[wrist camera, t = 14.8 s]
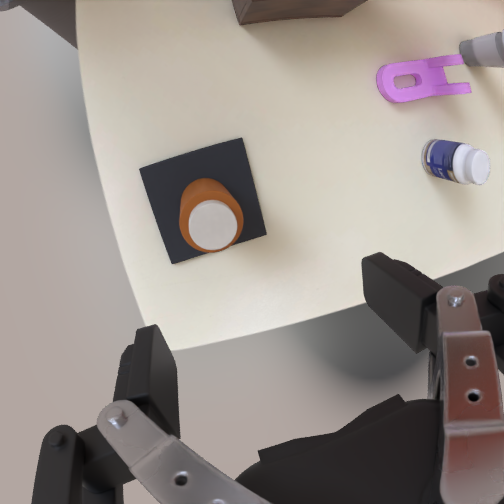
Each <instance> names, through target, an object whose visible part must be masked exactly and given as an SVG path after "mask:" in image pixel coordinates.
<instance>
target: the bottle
mask: <svg viewBox="0 0 504 504" xmlns="http://www.w3.org/2000/svg"><path fill="white" fill-rule="evenodd" d="M179 225H180V230H181V233H182V236H183V237H184V239H185V240H186V242H187V243H188V244H189V245H191V246H192V247H193V248H195V249H197V250H199V251H203V252H218V251H222V250H224V249H226V248H228V247H230V246H231V245H232V244H233V243H234V242H235V241H236V240H237V239H238V237H239V236H240V233H241V231H242V228H243V213H242V210H241V208H240V206H239V204H238V203H237V201H236V200H235V199H234V198H233V196H232V195H231V194H230V193H229V192H228V190H227V189H226V188H225V187H224V186H223V185H222V184H221V183H220V182H218V181H216V180H214V179H210V178H201V179H198V180H195V181H193V182H192V183H190V184H189V185H188V186H187V187H186V188H185V190H184V192H183V194H182V197H181V206H180V219H179Z"/></svg>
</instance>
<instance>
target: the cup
mask: <svg viewBox="0 0 504 504" xmlns="http://www.w3.org/2000/svg"><path fill="white" fill-rule="evenodd" d="M460 54H461V56H462V59H463V60H464V62H465V63H466V64H467V65H469V66H484V67H502V68H504V29H503V31H502V32H497V33H492V34H488V35H484V36H480V37H476V38H474V39H471V40H467V41H464V42H461V44H460Z"/></svg>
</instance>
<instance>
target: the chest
mask: <svg viewBox="0 0 504 504" xmlns="http://www.w3.org/2000/svg"><path fill="white" fill-rule="evenodd" d="M366 1H367V0H232V3H233V6H234V9H235V12H236V16H237V19H238V22H239V25H244V24H251V23H258V22H266V21H275V20H285V19H297V18H315V17H342V16H343V15H345V14H346V13H348V12H349V11H351V10H353V9H354V8H356V7H357V6H359V5H361V4H362V3H364V2H366Z"/></svg>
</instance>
